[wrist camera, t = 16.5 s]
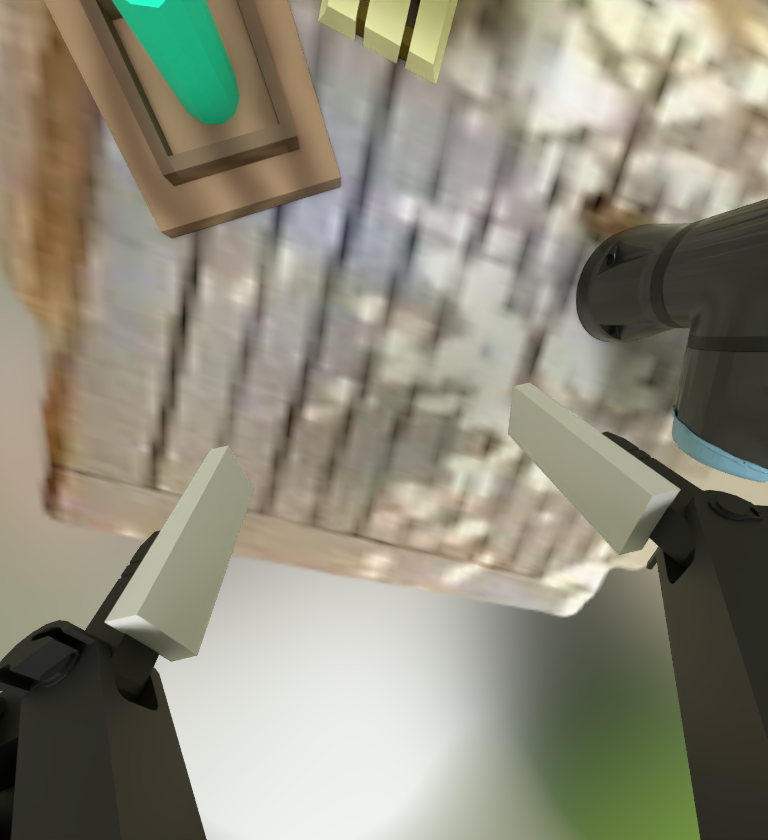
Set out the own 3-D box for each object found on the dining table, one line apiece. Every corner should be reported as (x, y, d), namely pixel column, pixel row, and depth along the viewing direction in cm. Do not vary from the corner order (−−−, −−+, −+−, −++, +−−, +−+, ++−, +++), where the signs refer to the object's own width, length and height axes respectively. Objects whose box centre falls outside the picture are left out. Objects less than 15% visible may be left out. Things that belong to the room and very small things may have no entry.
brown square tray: (264, -66, 26) (251, -136, 22) (340, 186, 32) (340, 166, 28) (48, -11, 24) (-5, -75, 21) (171, 238, 31) (148, 224, 27)
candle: (240, 57, 26) (165, -157, 15) (238, 134, 28) (168, -8, 16) (170, 32, 25) (29, -222, 14) (171, 113, 27) (46, -54, 15)
